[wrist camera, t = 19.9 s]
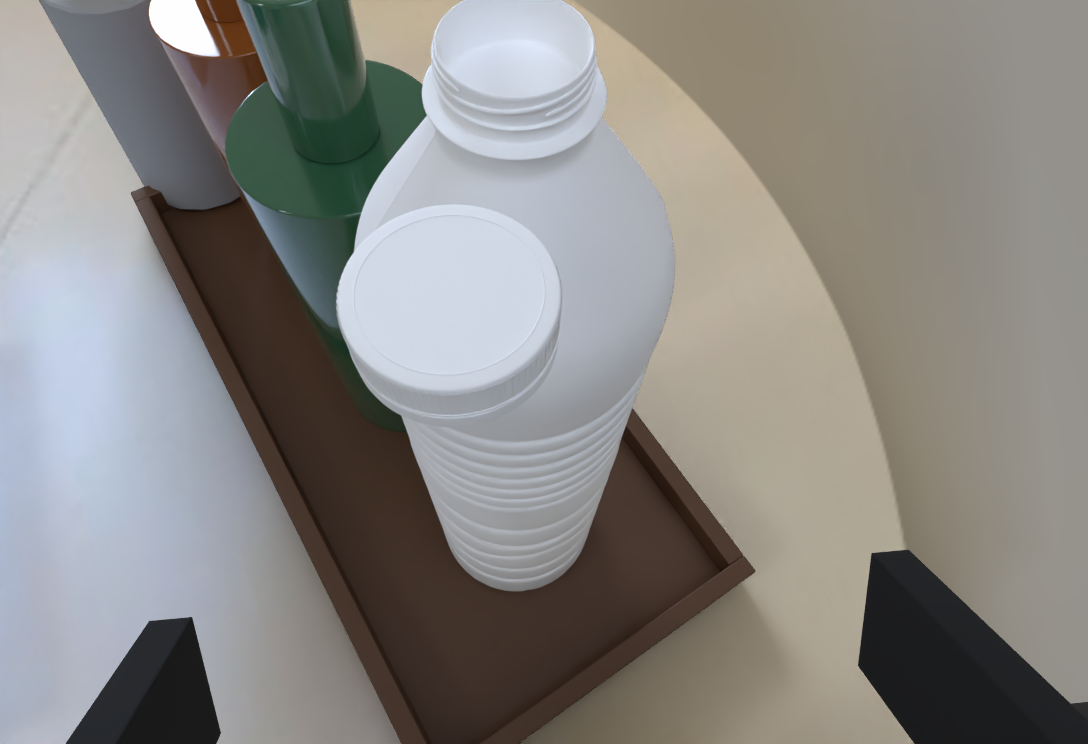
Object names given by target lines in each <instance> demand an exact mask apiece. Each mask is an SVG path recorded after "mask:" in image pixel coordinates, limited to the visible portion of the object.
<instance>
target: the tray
mask: <svg viewBox="0 0 1088 744" xmlns="http://www.w3.org/2000/svg"><path fill="white" fill-rule="evenodd" d="M131 195H132V197H133V199H134V201H135V203H136V206H137V208H138V210H139V212H140V214H141V216H142V218H143V220H144V222H145V224H146V226H147V228H148V230H149V232H150V234H151V236H152V238H153V240H154V242H155V244H156V246H157V248H158V250H159V252H160V254H161V256H162V258H163V260H164V262H165V264H166V266H167V268H168V270H169V272H170V274H171V277H172V279H173V281H174V283H175V285H176V287H177V289H178V291H179V293H180V295H181V297H182V299H183V301H184V303H185V305H186V307H187V309H188V311H189V313H190V315H191V317H192V319H193V321H194V323H195V325H196V327H197V329H198V331H199V333H200V335H201V337H202V339H203V341H204V343H205V345H206V348H207V350H208V352H209V354H210V356H211V358H212V360H213V362H214V364H215V366H216V368H217V370H218V372H219V374H220V376H221V378H222V380H223V382H224V384H225V386H226V388H227V390H228V392H229V394H230V396H231V398H232V400H233V402H234V404H235V406H236V408H237V410H238V412H239V414H240V417H241V419H242V421H243V423H244V425H245V427H246V429H247V431H248V433H249V435H250V437H251V439H252V441H253V443H254V445H255V447H256V449H257V451H258V453H259V455H260V457H261V459H262V461H263V463H264V465H265V467H266V469H267V471H268V473H269V475H270V477H271V479H272V481H273V483H274V485H275V488H276V490H277V492H278V494H279V496H280V498H281V500H282V502H283V504H284V506H285V508H286V510H287V512H288V514H289V516H290V518H291V520H292V522H293V524H294V526H295V528H296V530H297V532H298V534H299V536H300V538H301V540H302V542H303V544H304V546H305V548H306V550H307V552H308V554H309V556H310V559H311V561H312V563H313V565H314V567H315V569H316V571H317V573H318V575H319V577H320V579H321V581H322V583H323V585H324V587H325V589H326V591H327V593H328V595H329V597H330V599H331V601H332V603H333V605H334V607H335V609H336V611H337V613H338V615H339V617H340V619H341V621H342V623H343V625H344V627H345V630H346V632H347V634H348V636H349V638H350V640H351V642H352V644H353V646H354V648H355V650H356V652H357V654H358V656H359V658H360V660H361V662H362V664H363V666H364V668H365V670H366V672H367V674H368V676H369V678H370V680H371V682H372V684H373V686H374V688H375V690H376V692H377V694H378V696H379V699H380V701H381V703H382V705H383V707H384V709H385V711H386V713H387V715H388V717H389V719H390V721H391V723H392V725H393V727H394V729H395V731H396V733H397V735H398V737H399V739H400V741H401V743H402V744H519V743H520V742H521V741H523V740H524V739H526V738H527V737H528V736H530V735H531V734H532V733H534V732H535V731H537V730H538V729H539V728H541V727H542V726H543V725H545V724H546V723H548V722H549V721H550V720H552V719H553V718H554V717H556V716H557V715H559V714H560V713H561V712H563V711H564V710H566V709H567V708H568V707H570V706H571V705H572V704H574V703H575V702H577V701H578V700H579V699H581V698H582V697H583V696H585V695H586V694H588V693H589V692H590V691H592V690H593V689H595V688H596V687H597V686H599V685H600V684H601V683H603V682H604V681H606V680H607V679H608V678H610V677H611V676H612V675H614V674H615V673H617V672H618V671H619V670H621V669H622V668H623V667H625V666H626V665H628V664H629V663H630V662H632V661H633V660H635V659H636V658H637V657H639V656H640V655H641V654H643V653H644V652H646V651H647V650H648V649H650V648H651V647H652V646H654V645H655V644H657V643H658V642H659V641H661V640H662V639H663V638H665V637H666V636H668V635H669V634H670V633H672V632H673V631H675V630H676V629H677V628H679V627H680V626H681V625H683V624H684V623H686V622H687V621H688V620H690V619H691V618H692V617H694V616H695V615H697V614H698V613H699V612H701V611H702V610H704V609H705V608H706V607H708V606H709V605H710V604H712V603H713V602H715V601H716V600H717V599H719V598H720V597H721V596H723V595H724V594H726V593H727V592H728V591H730V590H731V589H732V588H734V587H735V586H737V585H738V584H739V583H741V582H742V581H744V580H745V579H746V578H748V577H749V576H750V575H752V574H753V573H755V570H754V568H753V567H752V566H751V564H750V563H749V562H748V560H747V559H746V558H745V557H744V556H743V554H742V553H741V551H740V550H739V549H738V547H737V546H736V545H735V543H734V542H733V541H732V539H731V538H730V537H729V535H728V534H727V533H726V531H725V530H724V529H723V527H722V526H721V525H720V523H719V522H718V521H717V519H716V518H715V517H714V516H713V514H712V513H711V512H710V510H709V509H708V508H707V506H706V505H705V504H704V502H703V501H702V500H701V498H700V497H699V496H698V494H697V493H696V492H695V490H694V489H693V488H692V486H691V485H690V484H689V482H688V481H687V480H686V478H685V477H684V476H683V474H682V473H681V472H680V471H679V469H678V468H677V467H676V465H675V464H674V463H673V461H672V460H671V459H670V457H669V456H668V455H667V453H666V452H665V451H664V449H663V448H662V447H661V445H660V444H659V443H658V441H657V440H656V439H655V437H654V436H653V435H652V433H651V432H650V431H649V429H648V428H647V427H646V426H645V424H644V423H643V422H642V420H641V419H640V418H639V416H638V415H637V414H636V412H635V411H634V410H633V408H632V410H631V413H630V416H629V418H628V421H627V424H626V427H625V429H624V432H623V435H622V438H621V441H620V445H619V449H618V452H617V455H616V458H615V461H614V464H613V466H612V468H611V471H610V474H609V477H608V480H607V483H606V485H605V487H604V490H603V494H602V497H601V499H600V502H599V504H598V507H597V510H596V513H595V516H594V518H593V521H592V524H591V527H590V529H589V533H588V536H587V539H586V541H585V544H584V546H583V549H582V551H581V553H580V555H579V556H578V558H577V559H576V561H575V562H574V563H573V565H572V566H571V567H570V568H569V569H568V570H567V571H566V572H565V573H564V574H563V575H562V576H560V577H559V578H557V579H556V580H554V581H553V582H551V583H549V584H547V585H545V586H542V587H540V588H536V589H532V590H525V591H505V590H500V589H496V588H493V587H490V586H488V585H486V584H484V583H482V582H480V581H478V580H476V579H475V578H473V577H472V576H471V575H470V574H469V573H467V572H466V571H465V570H464V569H463V567H462V566H461V565H460V564H459V563H458V561H457V560H456V558H455V557H454V555H453V553H452V551H451V549H450V547H449V545H448V542H447V539H446V537H445V534H444V531H443V528H442V525H441V523H440V520H439V517H438V515H437V512H436V510H435V507H434V504H433V501H432V499H431V496H430V494H429V491H428V488H427V486H426V483H425V481H424V478H423V475H422V472H421V470H420V467H419V465H418V463H417V460H416V457H415V455H414V452H413V449H412V446H411V443H410V438H409V435H408V433H407V432H395V431H390V430H386V429H383V428H380V427H378V426H376V425H374V424H372V423H370V422H369V421H367V420H366V419H365V418H363V417H362V416H361V415H360V414H359V413H358V412H357V410H356V409H355V408H354V406H353V405H352V403H351V401H350V399H349V397H348V395H347V394H346V392H345V390H344V388H343V386H342V384H341V382H340V380H339V378H338V376H337V374H336V373H335V371H334V369H333V367H332V365H331V363H330V361H329V359H328V357H327V355H326V354H325V352H324V350H323V348H322V346H321V344H320V342H319V340H318V338H317V336H316V334H315V333H314V331H313V329H312V327H311V325H310V323H309V321H308V319H307V317H306V315H305V314H304V312H303V310H302V308H301V306H300V304H299V302H298V300H297V298H296V296H295V294H294V293H293V291H292V289H291V287H290V285H289V283H288V281H287V279H286V277H285V275H284V274H283V272H282V270H281V268H280V266H279V265H278V264H277V263H276V262H275V260H274V259H273V257H272V255H271V253H270V251H269V250H268V248H267V246H266V244H265V242H264V240H263V238H262V236H261V234H260V233H259V231H258V229H257V227H256V225H255V223H254V221H253V219H252V217H251V216H250V214H249V212H248V210H247V208H246V206H245V204H244V202H243V200H242V199H241V197H238V198H237V199H235V200H234V201H232V202H230V203H227V204H224V205H220V206H217V207H213V208H209V209H206V210H199V209H178V208H176V207H173V206H170V205H168V204H167V202H166V200H165V198H164V196H163V194H162V193H161V192H160V191H158V190H155V189H152V188H151V187H150V186H149V185H148V186H146V187H143V188H141V189H138V190H136V191H133V192H131Z"/></svg>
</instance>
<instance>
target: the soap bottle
mask: <svg viewBox="0 0 1088 744" xmlns="http://www.w3.org/2000/svg"><path fill="white" fill-rule="evenodd" d="M150 1H151V0H39V2H40V3H41V5H42V7H43V9H44V10H45V12H46V14H47V16H48V17H49V19H50V21H51V23H52V24H53V26H54V28H55V30H56V32H57V33H58V35H59V37H60V39H61V40H62V42H63V44H64V46H65V47H66V49H67V51H68V53H69V54H70V56H71V58H72V60H73V61H74V63H75V65H76V67H77V69H78V70H79V72H80V74H81V76H82V77H83V79H84V81H85V83H86V84H87V86H88V88H89V90H90V91H91V93H92V95H93V97H94V98H95V100H96V102H97V104H98V106H99V107H100V109H101V111H102V113H103V114H104V116H105V118H106V120H107V121H108V123H109V125H110V127H111V128H112V130H113V132H114V134H115V135H116V137H117V139H118V141H119V143H120V144H121V146H122V148H123V150H124V151H125V153H126V155H127V157H128V158H129V160H130V162H131V164H132V165H133V167H134V169H135V171H136V172H137V174H138V176H139V178H140V180H141V181H142V183H143V185H144V187H146V186H148V185H149V186H150V187H151V188H152V189H155V190H158V191H160V192H161V193H162V194H163V196H164V198H165V200H166V202H167V204H168V205H170V206H173V207H176V208H178V209H199V210H206V209H209V208H213V207H217V206H220V205H224V204H227V203H230V202H232V201H234V200H235V199H237V198H238V197H240V195H239V193H238V191H237V189H236V187H235V185H234V183H233V182H232V180H231V178H230V176H229V174H228V172H227V170H226V168H225V166H224V165H223V163H222V161H221V159H220V157H219V155H218V153H217V151H216V149H215V148H214V146H213V144H212V142H211V140H210V138H209V136H208V134H207V133H206V131H205V129H204V127H203V125H202V123H201V121H200V119H199V117H198V116H197V114H196V112H195V110H194V108H193V106H192V104H191V102H190V100H189V99H188V97H187V95H186V93H185V91H184V89H183V87H182V85H181V83H180V82H179V80H178V78H177V76H176V74H175V72H174V70H173V68H172V66H171V65H170V63H169V61H168V59H167V57H166V55H165V53H164V51H163V49H162V48H161V46H160V44H159V42H158V40H157V38H156V36H155V34H154V33H153V31H152V29H151V26H150V23H149V18H148V9H149V4H150Z"/></svg>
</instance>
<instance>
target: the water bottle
mask: <svg viewBox="0 0 1088 744" xmlns="http://www.w3.org/2000/svg"><path fill="white" fill-rule="evenodd" d="M431 59H432V64H431V65H430V67H429V68H428V70H427V72H426V75H425V77H424V80H423V85H422V101H423V106H424V109H425V112H426V114H427V116H426V117H425V118H424V120H423V121H422V122H421V123H420V125H419V126H418V127H417V128H416V129H415V131H414V132H413V133H412V134H411V136H410V137H409V138H408V139H407V140H406V142H405V143H404V144H403V145H402V147H401V148H400V149H399V150H398V152H397V153H396V154H395V155H394V157H393V158H392V159H391V161H390V162H389V163H388V164H387V166H386V167H385V169H384V170H383V171H382V173H381V174H380V176H379V177H378V179H377V180H376V182H375V184H374V185H373V187H372V189H371V191H370V193H369V195H368V197H367V199H366V202H365V204H364V207H363V210H362V213H361V216H360V220H359V223H358V228H357V233H356V239H355V246H354V253H353V254H352V256H351V257H350V259H349V261H348V262H347V265H346V267H345V268H344V271H343V273H342V275H341V280H339V286H338V293H337V295H336V296H337V299H336V303H337V306H336V310H337V312H338V314H337V317H338V319H339V320H338V323H339V322H340V323H339V325H340V326H339V327H340V330H341V333H342V335H343V338H344V340H345V342H346V344H347V347H348V349H349V352H350V355H351V357H352V360H353V362H354V364H355V366H356V368H357V370H358V372H359V374H360V376H361V378H362V380H363V381H364V383H365V384H366V386H367V387H368V389H369V390H370V391H371V392H372V393H373V394H374V396H375V397H376V398H377V399H378V400H380V401H381V402H382V403H383V404H384V405H385V406H387V407H388V408H389V409H391V410H393V411H394V412H396V413H397V414H399V415H401V416H402V419H403V422H404V425H405V427H406V430H407V433H408V435H409V438H410V443H411V446H412V449H413V452H414V455H415V457H416V460H417V463H418V465H419V467H420V470H421V472H422V475H423V478H424V481H425V483H426V486H427V488H428V491H429V494H430V496H431V499H432V501H433V504H434V507H435V510H436V512H437V515H438V517H439V520H440V523H441V525H442V528H443V531H444V534H445V537H446V539H447V542H448V545H449V547H450V549H451V551H452V553H453V555H454V557H455V558H456V560H457V561H458V563H459V564H460V565H461V566H462V567H463V569H464V570H465V571H466V572H467V573H469V574H470V575H471V576H472V577H473V578H475V579H476V580H478V581H480V582H482V583H484V584H486V585H488V586H490V587H493V588H496V589H500V590H505V591H525V590H532V589H536V588H540V587H542V586H545V585H547V584H549V583H551V582H553V581H554V580H556V579H557V578H559V577H560V576H562V575H563V574H564V573H565V572H566V571H567V570H568V569H569V568H570V567H571V566H572V565H573V563H574V562H575V561H576V559H577V558H578V556H579V555H580V553H581V551H582V549H583V546H584V544H585V541H586V539H587V536H588V533H589V529H590V527H591V524H592V521H593V518H594V516H595V513H596V510H597V507H598V504H599V502H600V499H601V497H602V494H603V490H604V487H605V485H606V483H607V480H608V477H609V474H610V471H611V468H612V466H613V464H614V461H615V458H616V455H617V452H618V449H619V445H620V441H621V438H622V435H623V432H624V429H625V427H626V424H627V421H628V418H629V416H630V413H631V410H632V407H633V404H634V402H635V399H636V396H637V393H638V390H639V388H640V385H641V382H642V379H643V376H644V374H645V371H646V368H647V365H648V362H649V359H650V357H651V354H652V352H653V350H654V348H655V346H656V344H657V342H658V339H659V337H660V334H661V332H662V329H663V326H664V323H665V320H666V317H667V314H668V311H669V307H670V303H671V299H672V293H673V287H674V276H675V256H674V245H673V238H672V233H671V228H670V224H669V220H668V216H667V213H666V209H665V205H664V202H663V199H662V197H661V195H660V194H659V192H658V191H657V189H656V188H655V186H654V184H653V183H652V181H651V180H650V178H649V177H648V175H647V174H646V172H645V171H644V170H643V168H642V167H641V166H640V164H639V163H638V162H637V160H636V159H635V158H634V156H633V155H632V154H631V153H630V151H629V150H628V149H627V148H626V146H625V145H624V144H623V143H622V141H621V140H620V139H619V138H618V136H617V135H616V134H615V133H614V131H613V130H612V129H611V128H610V126H609V125H608V124H607V123H606V122H605V120H604V119H603V118H602V115H603V113H604V110H605V107H606V101H607V91H606V85H605V81H604V78H603V76H602V74H601V72H600V70H599V68H598V67H597V57H596V50H595V40H594V35H593V32H592V30H591V28H590V26H589V24H588V22H587V21H586V20H585V18H584V17H583V16H582V15H581V14H580V13H579V12H578V11H577V10H576V9H574V8H573V7H572V6H570V5H569V4H567V3H566V2H564V1H562V0H463V1H462V2H460V3H458V4H457V5H455V6H454V7H453V8H451V9H450V10H449V11H448V12H447V13H446V14H445V15H444V16H443V18H442V19H441V20H440V22H439V24H438V26H437V28H436V30H435V34H434V39H433V41H432V45H431ZM337 312H336V313H337Z"/></svg>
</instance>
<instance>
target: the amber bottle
mask: <svg viewBox="0 0 1088 744" xmlns="http://www.w3.org/2000/svg"><path fill="white" fill-rule="evenodd" d="M148 18H149V23H150V26H151V29H152V31H153V33H154V34H155V36H156V38H157V40H158V42H159V44H160V46H161V48H162V49H163V51H164V53H165V55H166V57H167V59H168V61H169V63H170V65H171V66H172V68H173V70H174V72H175V74H176V76H177V78H178V80H179V82H180V83H181V85H182V87H183V89H184V91H185V93H186V95H187V97H188V99H189V100H190V102H191V104H192V106H193V108H194V110H195V112H196V114H197V116H198V117H199V119H200V121H201V123H202V125H203V127H204V129H205V131H206V133H207V134H208V136H209V138H210V140H211V142H212V144H213V146H214V148H215V149H216V151H217V153H218V155H219V157H220V159H221V161H222V163H223V165H224V166H225V168H226V170H227V172H228V174H229V176H230V178H231V180H232V182H233V183H234V185H235V187H236V189H237V191H238V193H239V195H240V197H241V199H242V200H243V202H244V204H245V206H246V208H247V210H248V212H249V214H250V216H251V217H252V219H253V221H254V223H255V225H256V227H257V229H258V231H259V233H260V234H261V236H262V238H263V240H264V242H265V244H266V246H267V248H268V250H269V251H270V253H271V255H272V257H273V259H274V260H275V262H276V263H277V264H278V262H277V260H276V258H275V256H274V254H273V253H272V251H271V249H270V247H269V245H268V243H267V241H266V239H265V237H264V235H263V233H262V232H261V230H260V228H259V226H258V224H257V222H256V220H255V218H254V216H253V214H252V213H251V211H250V209H249V207H248V205H247V203H246V201H245V199H244V197H243V195H242V193H241V192H240V190H239V188H238V186H237V184H236V182H235V180H234V178H233V176H232V174H231V173H230V170H229V167H228V164H227V161H226V155H225V139H226V134H227V129H228V126H229V124H230V121H231V119H232V117H233V115H234V113H235V112H236V110H237V108H238V107H239V106H240V104H241V103H242V102H243V101H244V99H245V98H246V97H247V96H248V95H249V94H250V93H251V92H252V91H253V90H255V89H256V88H257V87H259V86H260V85H261V84H262V83H264V82H265V81H267V79H266V76H265V74H264V71H263V68H262V66H261V63H260V61H259V58H258V56H257V53H256V51H255V48H254V45H253V43H252V40H251V38H250V35H249V33H248V30H247V28H246V25H245V23H244V20H243V17H242V15H241V12H240V10H239V7H238V5H237V2H236V0H151V1H150V4H149V9H148ZM278 265H279V264H278Z"/></svg>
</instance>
